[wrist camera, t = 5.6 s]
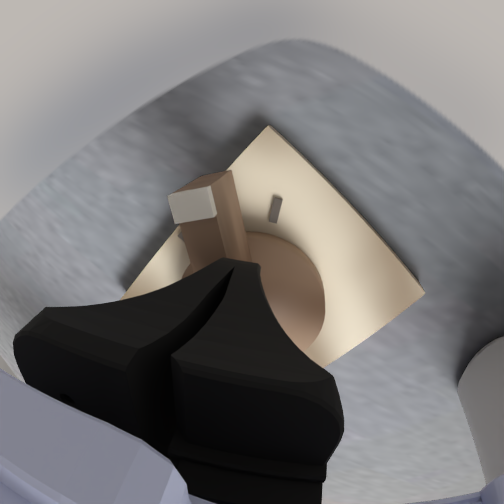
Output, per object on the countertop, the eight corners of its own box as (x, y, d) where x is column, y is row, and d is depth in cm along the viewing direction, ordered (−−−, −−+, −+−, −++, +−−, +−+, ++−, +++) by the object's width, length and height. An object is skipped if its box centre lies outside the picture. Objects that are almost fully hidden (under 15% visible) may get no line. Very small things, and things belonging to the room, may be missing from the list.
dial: (329, 346, 18) (332, 411, 13) (206, 354, 19) (182, 412, 15) (304, 154, 14) (303, 171, 9) (152, 184, 16) (98, 213, 11)
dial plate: (257, 396, 22) (254, 409, 21) (126, 293, 20) (116, 303, 19) (419, 282, 17) (426, 295, 16) (270, 125, 15) (267, 125, 14)
